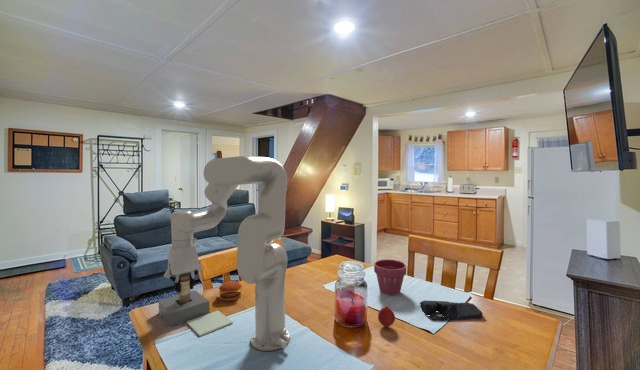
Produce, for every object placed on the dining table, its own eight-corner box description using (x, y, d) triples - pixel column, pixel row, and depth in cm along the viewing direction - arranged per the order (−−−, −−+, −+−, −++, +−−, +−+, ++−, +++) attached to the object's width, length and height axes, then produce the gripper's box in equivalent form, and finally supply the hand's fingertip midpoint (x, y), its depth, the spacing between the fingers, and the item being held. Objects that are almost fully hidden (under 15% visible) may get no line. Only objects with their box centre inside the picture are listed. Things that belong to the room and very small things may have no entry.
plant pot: (367, 290, 135) (367, 263, 135) (385, 282, 145) (386, 257, 144) (394, 301, 125) (394, 271, 124) (411, 292, 134) (412, 264, 133)
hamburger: (219, 294, 132) (219, 279, 132) (241, 291, 135) (241, 277, 134) (218, 303, 123) (218, 287, 123) (242, 300, 126) (241, 285, 125)
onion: (382, 332, 101) (382, 310, 101) (375, 324, 107) (375, 302, 106) (397, 330, 103) (398, 307, 102) (389, 321, 108) (389, 300, 108)
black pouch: (488, 323, 108) (489, 310, 108) (428, 322, 109) (428, 309, 109) (469, 304, 123) (469, 293, 123) (416, 303, 124) (416, 292, 124)
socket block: (209, 313, 114) (209, 301, 114) (170, 327, 105) (170, 313, 104) (195, 301, 124) (195, 290, 124) (158, 313, 115) (158, 300, 114)
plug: (192, 305, 114) (191, 275, 114) (181, 309, 111) (180, 277, 111) (188, 302, 117) (187, 272, 116) (177, 305, 114) (176, 275, 114)
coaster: (232, 323, 107) (232, 321, 107) (199, 336, 99) (199, 334, 99) (218, 311, 116) (218, 310, 116) (186, 323, 107) (186, 321, 107)
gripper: (200, 237, 121) (202, 281, 122) (155, 245, 110) (157, 293, 111) (208, 240, 116) (209, 286, 117) (162, 249, 104) (163, 299, 105)
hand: (184, 289), depth 114 cm, fingers closed on plug, 4 cm apart
